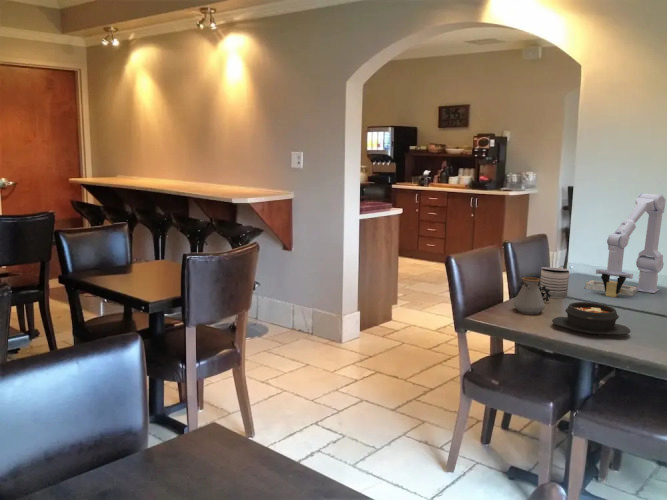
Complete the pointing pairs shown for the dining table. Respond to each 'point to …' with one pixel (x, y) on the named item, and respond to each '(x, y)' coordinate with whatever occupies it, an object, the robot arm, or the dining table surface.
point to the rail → (600, 287)
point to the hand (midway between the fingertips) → (612, 292)
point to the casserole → (591, 319)
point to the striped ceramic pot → (555, 281)
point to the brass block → (611, 289)
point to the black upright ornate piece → (545, 293)
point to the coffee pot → (529, 297)
